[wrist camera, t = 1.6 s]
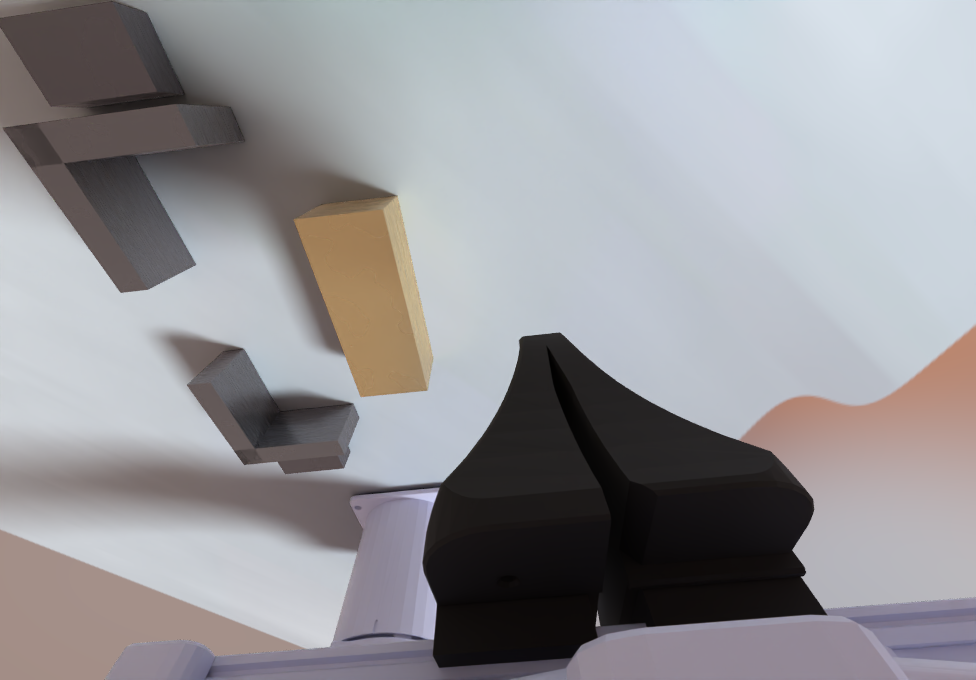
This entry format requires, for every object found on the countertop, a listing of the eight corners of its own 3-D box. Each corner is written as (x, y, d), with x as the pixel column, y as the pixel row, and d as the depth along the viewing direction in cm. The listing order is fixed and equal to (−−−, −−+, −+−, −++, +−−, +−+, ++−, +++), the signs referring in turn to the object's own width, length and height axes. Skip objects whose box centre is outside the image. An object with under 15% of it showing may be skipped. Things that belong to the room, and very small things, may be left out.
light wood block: (433, 355, 21) (427, 390, 18) (375, 361, 21) (360, 396, 18) (398, 194, 16) (382, 209, 14) (323, 203, 16) (293, 219, 14)
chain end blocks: (372, 449, 25) (360, 487, 22) (288, 457, 25) (266, 496, 22) (188, 6, 13) (114, -23, 10) (28, 30, 13) (-84, 7, 10)
